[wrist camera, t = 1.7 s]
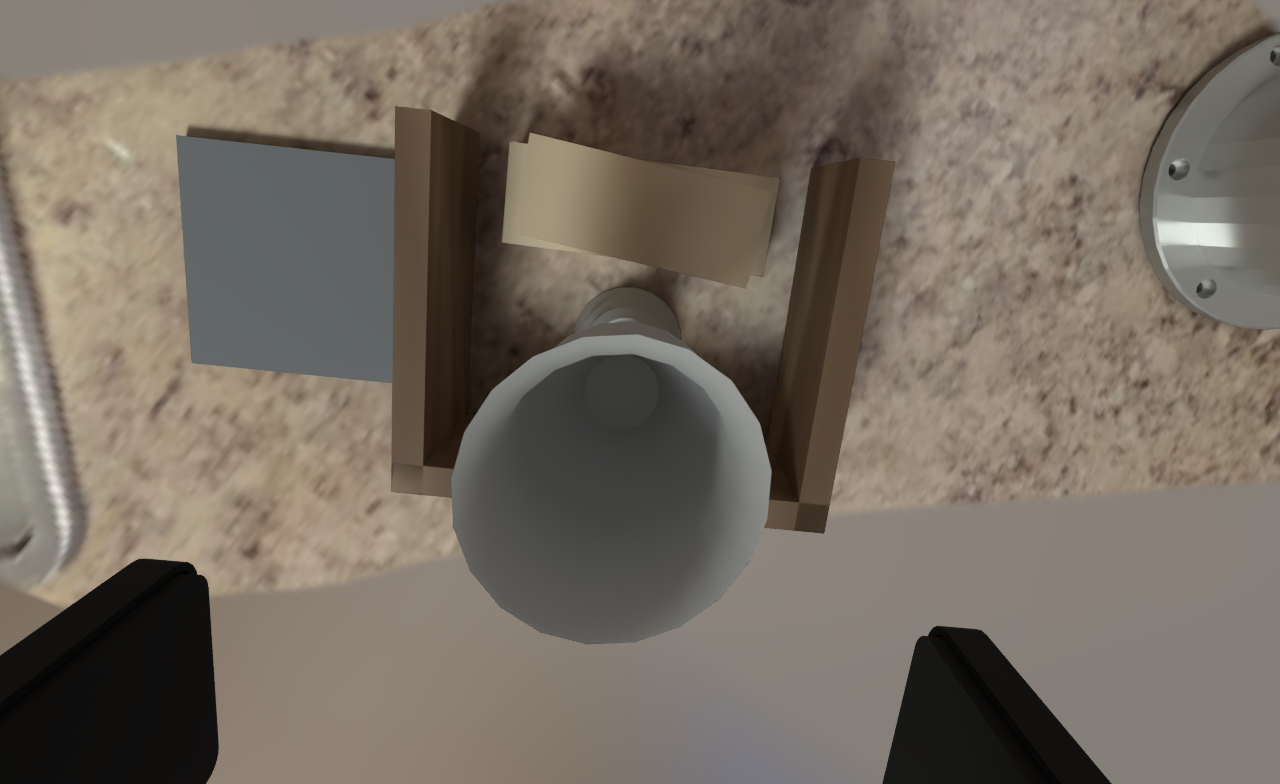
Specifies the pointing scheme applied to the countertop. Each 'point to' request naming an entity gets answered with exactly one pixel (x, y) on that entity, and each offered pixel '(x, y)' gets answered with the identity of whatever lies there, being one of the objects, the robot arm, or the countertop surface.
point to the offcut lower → (756, 181)
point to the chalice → (611, 480)
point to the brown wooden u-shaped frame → (442, 308)
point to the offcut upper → (639, 211)
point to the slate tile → (288, 258)
